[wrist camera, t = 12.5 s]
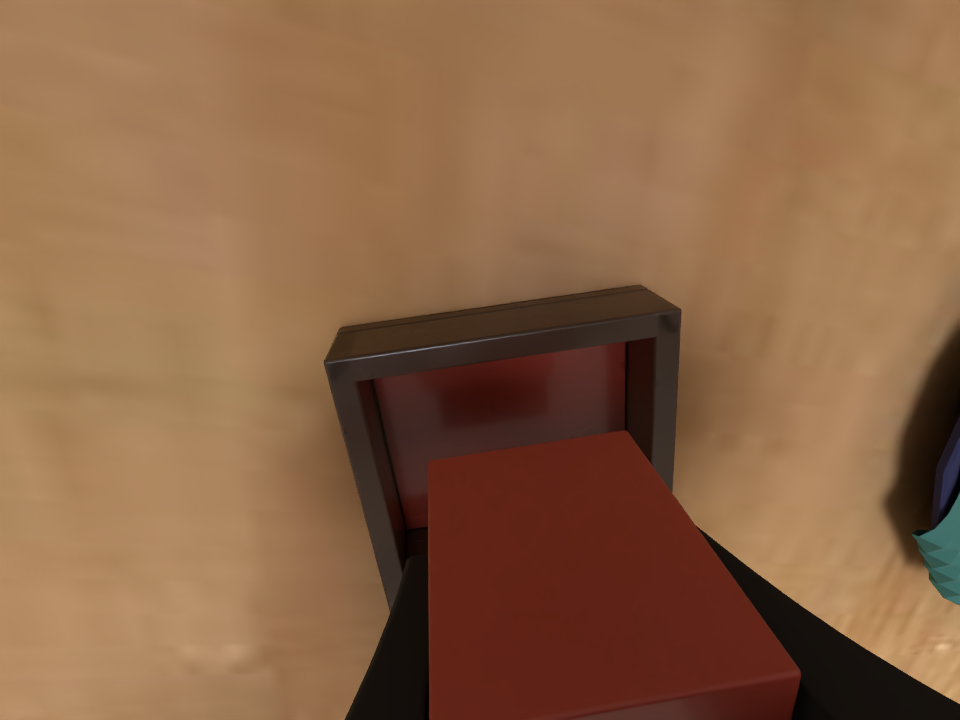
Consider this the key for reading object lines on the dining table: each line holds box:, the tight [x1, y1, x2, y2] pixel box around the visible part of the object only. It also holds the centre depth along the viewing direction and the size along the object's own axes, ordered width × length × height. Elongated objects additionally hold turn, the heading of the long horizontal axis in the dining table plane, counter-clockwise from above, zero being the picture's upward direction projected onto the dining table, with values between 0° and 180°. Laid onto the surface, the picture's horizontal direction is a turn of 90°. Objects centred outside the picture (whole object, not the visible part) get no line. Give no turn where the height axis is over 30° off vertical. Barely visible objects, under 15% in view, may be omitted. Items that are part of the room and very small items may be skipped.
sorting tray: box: [324, 285, 681, 612], centre depth 16 cm, size 15×9×2 cm, turn 7°
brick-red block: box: [428, 430, 801, 720], centre depth 9 cm, size 4×4×6 cm
